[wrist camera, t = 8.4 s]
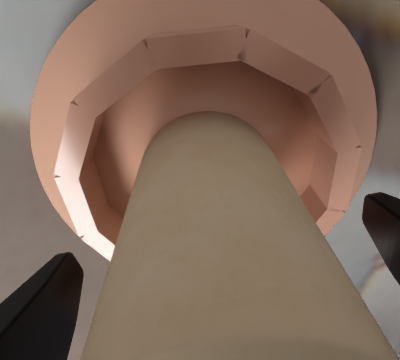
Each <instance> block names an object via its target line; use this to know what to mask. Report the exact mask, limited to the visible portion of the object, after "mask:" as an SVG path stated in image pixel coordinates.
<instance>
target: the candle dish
mask: <svg viewBox="0 0 400 360" xmlns="http://www.w3.org/2000/svg"><path fill="white" fill-rule="evenodd" d="M203 111H214V112H222V113H226V114H230V115H233V116H235V117H237V118H240V119H241V120H243V121H245V122H246V123H248V124H249V125H251V126H252V127H253V128H254V129H256V130H257V131H258V132H259V134H260V135H261V136H262V137H263V138H264V140H265V141H266V143H267V144H268V146H269V147H270V149H271V150H272V152H273V153H274V155H275V157H276V158H277V160H278V162H279V163H280V165H281V166H282V168H283V170H284V171H285V173H286V175H287V176H288V178H289V180H290V181H291V183H292V184H293V186H294V188H295V189H296V191H297V193H298V194H299V196H300V198H301V199H302V201H303V203H304V204H305V206H306V207H307V209H308V211H309V212H310V214H311V216H312V217H313V219H314V221H315V222H316V224H317V226H318V227H319V229H320V230H321V232H322V234H323V235H324V236H325V235H326V234H327V233H328V232H329V231H330V230H331V229H332V228H333V226H334V225H335V224H336V223H337V222H338V221H339V220H340V219H341V218H342V216H343V215H344V214H345V210H347V209H348V206H349V204H350V203H351V201H352V200H353V198H354V197H355V195H356V193H357V192H358V190H359V188H360V186H361V184H362V182H363V179H364V177H365V175H366V173H367V170H368V167H369V164H370V161H371V158H372V155H373V150H374V144H375V139H376V132H377V105H376V96H375V89H374V86H373V82H372V78H371V74H370V71H369V68H368V65H367V63H366V61H365V59H364V57H363V54H362V52H361V50H360V48H359V46H358V44H357V43H356V41H355V40H354V38H353V37H352V35H351V34H350V32H349V31H348V29H347V28H346V26H345V25H344V24H343V23H342V22H341V21H340V20H339V19H338V18H337V17H336V16H335V15H334V13H333V12H332V11H331V10H330V9H329V8H328V7H327V6H326V5H324V4H323V3H322V2H320V1H319V0H96V1H95V2H93V3H92V4H91V5H90V6H88V7H87V8H86V9H85V10H84V11H82V12H81V13H80V14H79V15H78V16H77V17H76V18H75V20H74V21H73V22H72V23H71V24H70V25H69V26H68V27H67V29H66V30H65V31H64V32H63V33H62V34H61V36H60V37H59V39H58V40H57V42H56V44H55V45H54V47H53V48H52V50H51V52H50V53H49V55H48V56H47V58H46V61H45V63H44V66H43V68H42V70H41V73H40V75H39V77H38V80H37V84H36V88H35V92H34V96H33V100H32V106H31V118H30V135H31V148H32V153H33V157H34V162H35V166H36V170H37V172H38V175H39V178H40V180H41V183H42V186H43V188H44V190H45V192H46V194H47V195H48V197H49V199H50V201H51V203H52V205H53V206H54V207H55V209H56V210H57V212H58V213H59V214H60V216H61V217H62V219H63V220H64V221H65V222H66V223H67V224H68V225H69V226H70V227H71V229H72V230H73V231H74V232H75V233H76V234H77V235H78V236H80V237H81V239H82V240H83V241H85V242H86V243H87V244H88V245H90V246H91V247H92V248H94V249H95V250H96V251H97V252H99V253H100V254H101V255H103V256H104V257H105V258H106V259H108V260H109V261H111V258H112V254H113V251H114V248H115V244H116V241H117V238H118V235H119V231H120V228H121V225H122V221H123V218H124V215H125V212H126V208H127V205H128V202H129V198H130V195H131V192H132V189H133V185H134V182H135V179H136V175H137V172H138V169H139V166H140V163H141V160H142V158H143V155H144V152H145V150H146V148H147V146H148V144H149V143H150V142H151V140H152V139H153V137H154V136H155V135H156V134H157V133H158V132H159V131H160V130H161V129H162V128H163V127H164V126H166V125H167V124H168V123H170V122H172V121H173V120H175V119H177V118H179V117H182V116H184V115H188V114H191V113H196V112H203Z"/></svg>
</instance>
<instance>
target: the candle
mask: <svg viewBox="0 0 400 360" xmlns="http://www.w3.org/2000/svg"><path fill="white" fill-rule="evenodd" d="M81 360H399V359H398V357H397V355H396V354H395V352H394V350H393V349H392V347H391V345H390V344H389V342H388V340H387V339H386V337H385V336H384V334H383V332H382V331H381V329H380V327H379V326H378V324H377V322H376V321H375V319H374V317H373V316H372V314H371V312H370V311H369V309H368V308H367V306H366V304H365V303H364V301H363V299H362V298H361V296H360V294H359V293H358V291H357V290H356V288H355V286H354V285H353V283H352V281H351V280H350V278H349V276H348V275H347V273H346V271H345V270H344V268H343V267H342V265H341V263H340V262H339V260H338V258H337V257H336V255H335V253H334V252H333V250H332V248H331V247H330V245H329V244H328V242H327V240H326V239H325V237H324V235H323V234H322V232H321V230H320V229H319V227H318V226H317V224H316V222H315V221H314V219H313V217H312V216H311V214H310V212H309V211H308V209H307V207H306V206H305V204H304V203H303V201H302V199H301V198H300V196H299V194H298V193H297V191H296V189H295V188H294V186H293V184H292V183H291V181H290V180H289V178H288V176H287V175H286V173H285V171H284V170H283V168H282V166H281V165H280V163H279V162H278V160H277V158H276V157H275V155H274V153H273V152H272V150H271V149H270V147H269V146H268V144H267V143H266V141H265V140H264V138H263V137H262V136H261V135H260V134H259V132H258V131H257V130H256V129H254V128H253V127H252V126H251V125H249V124H248V123H246V122H245V121H243V120H241V119H240V118H237V117H235V116H233V115H230V114H226V113H222V112H214V111H203V112H196V113H191V114H188V115H184V116H182V117H179V118H177V119H175V120H173V121H172V122H170V123H168V124H167V125H166V126H164V127H163V128H162V129H161V130H160V131H159V132H158V133H157V134H156V135H155V136H154V137H153V139H152V140H151V142H150V143H149V144H148V146H147V148H146V150H145V152H144V155H143V158H142V160H141V163H140V166H139V169H138V172H137V175H136V179H135V182H134V185H133V189H132V192H131V195H130V198H129V202H128V205H127V208H126V212H125V215H124V218H123V221H122V225H121V228H120V231H119V235H118V238H117V241H116V244H115V248H114V251H113V254H112V258H111V261H110V264H109V267H108V271H107V274H106V277H105V281H104V284H103V287H102V290H101V294H100V297H99V300H98V304H97V307H96V310H95V313H94V317H93V320H92V323H91V327H90V330H89V333H88V336H87V340H86V343H85V346H84V350H83V353H82V356H81Z"/></svg>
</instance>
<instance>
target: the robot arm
mask: <svg viewBox="0 0 400 360" xmlns="http://www.w3.org/2000/svg"><path fill="white" fill-rule="evenodd" d="M362 220H363V223H364V225H365V227H366V229H367V231H368V233H369V234H370V236H371V238H372V240H373V242H374V244H375V245H376V247H377V249H378V251H379V253H380V254H381V256H382V258H383V260H384V262H385V264H386V265H387V267H388V269H389V270H390V272H391V273H392V275H393V276H394V278H395V279H396V281H397V282H398V283H399V285H400V199H398V198H396V197H393V196H390V195H388V194H385V193H382V192H378V193H373V194H368V195H366V196H365V198H364V205H363V213H362ZM83 276H84V275H83V269H82V267H81V266H80V264H79V263H78V261H77V260H76V258H75V257H74V255H73V254H72V253H71V252H65V253H60V254H57V255H55V256H54V257H53V258H52V259H51V260H50V261H49V262H47V263H46V264H45V265H44V266H43V267H42V268H41V269H39V270H38V271H37V272H36V273H35V274H34V275H33V276H31V277H30V278H29V279H28V280H27V281H26V282H25V283H23V284H22V285H21V286H20V287H19V288H18V289H17V290H16V291H14V292H13V293H12V294H11V295H10V296H9V297H8V298H6V299H5V300H4V301H3V302H2V303H1V304H0V360H67V357H68V353H69V350H70V346H71V342H72V338H73V334H74V330H75V326H76V321H77V316H78V309H79V303H80V296H81V290H82V283H83Z"/></svg>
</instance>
